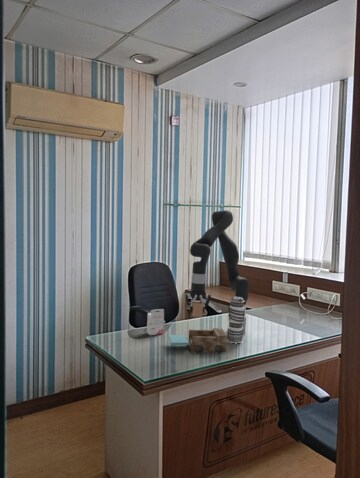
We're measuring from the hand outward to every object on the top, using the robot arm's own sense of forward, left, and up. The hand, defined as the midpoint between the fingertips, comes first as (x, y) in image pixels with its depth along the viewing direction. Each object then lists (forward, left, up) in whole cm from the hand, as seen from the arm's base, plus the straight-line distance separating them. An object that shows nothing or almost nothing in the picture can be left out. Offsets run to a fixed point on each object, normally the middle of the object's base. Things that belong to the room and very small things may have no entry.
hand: (196, 313), depth 212 cm
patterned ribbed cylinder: (-24, -8, -18) cm, 31 cm away
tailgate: (+5, +3, -14) cm, 15 cm away
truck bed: (-6, +3, -18) cm, 19 cm away
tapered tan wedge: (0, 0, -1) cm, 1 cm away
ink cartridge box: (+20, -20, -18) cm, 34 cm away
